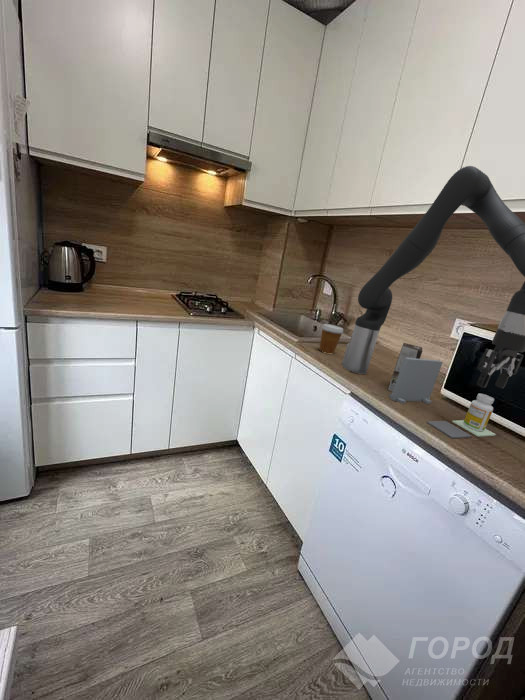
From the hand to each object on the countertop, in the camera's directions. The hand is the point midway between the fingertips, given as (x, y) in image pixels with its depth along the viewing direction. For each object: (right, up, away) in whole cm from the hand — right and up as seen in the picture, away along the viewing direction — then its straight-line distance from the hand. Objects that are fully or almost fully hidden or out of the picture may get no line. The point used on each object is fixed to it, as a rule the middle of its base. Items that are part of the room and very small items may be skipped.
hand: (490, 386), depth 92 cm
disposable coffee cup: (-35, +9, +56) cm, 67 cm away
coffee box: (-16, -4, +24) cm, 29 cm away
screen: (-15, -6, +16) cm, 23 cm away
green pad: (-3, -12, +3) cm, 13 cm away
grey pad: (-12, -12, -2) cm, 17 cm away
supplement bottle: (-3, -12, +3) cm, 13 cm away
